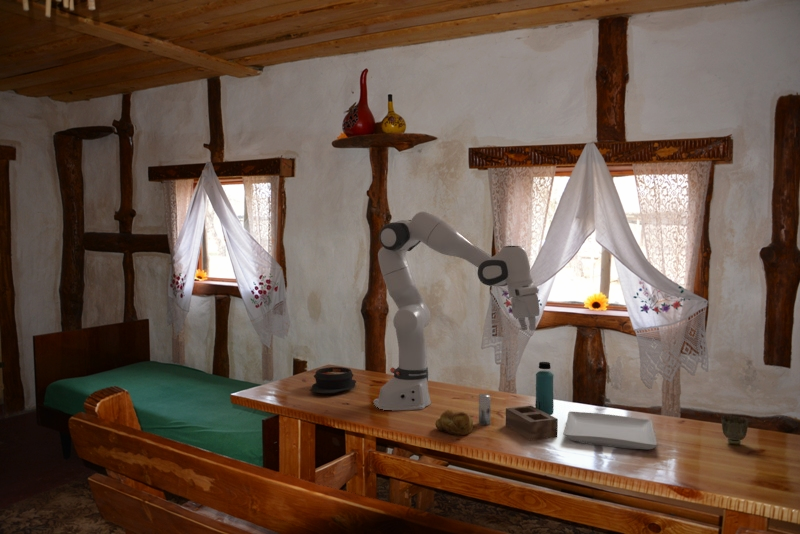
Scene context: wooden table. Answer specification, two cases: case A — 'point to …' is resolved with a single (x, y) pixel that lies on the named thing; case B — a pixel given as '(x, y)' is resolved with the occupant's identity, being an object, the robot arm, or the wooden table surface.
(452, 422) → the bread roll
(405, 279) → the robot arm
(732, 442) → the cup
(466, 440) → the wooden table surface
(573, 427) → the square plate
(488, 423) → the steel pin
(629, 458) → the wooden table surface
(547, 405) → the beverage bottle
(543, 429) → the socket block
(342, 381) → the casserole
